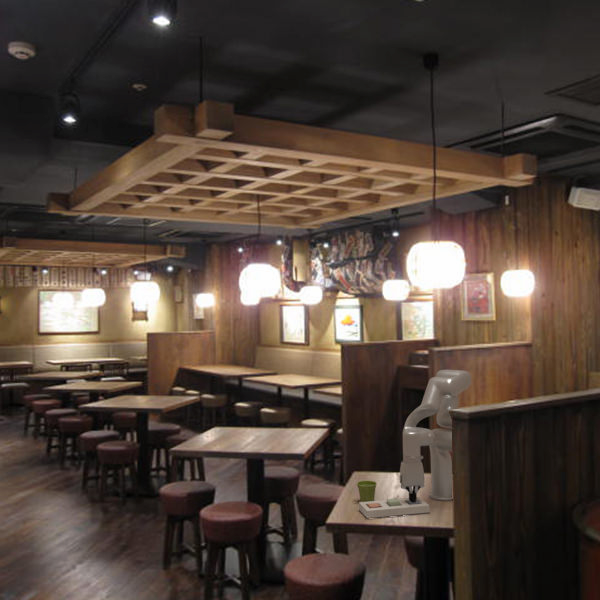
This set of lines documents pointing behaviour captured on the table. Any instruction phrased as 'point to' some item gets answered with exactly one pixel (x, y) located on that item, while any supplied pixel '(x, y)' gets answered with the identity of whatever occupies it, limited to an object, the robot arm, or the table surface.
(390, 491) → the table surface
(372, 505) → the terracotta button
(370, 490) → the plant pot
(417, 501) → the slate button
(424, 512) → the button panel
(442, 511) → the table surface
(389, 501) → the sage button
